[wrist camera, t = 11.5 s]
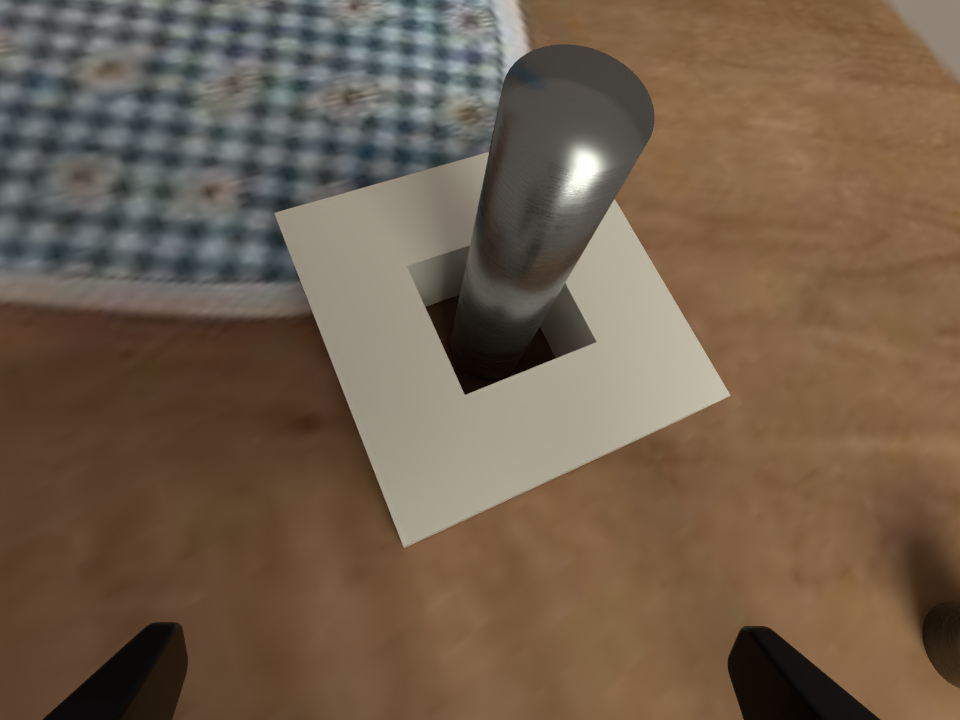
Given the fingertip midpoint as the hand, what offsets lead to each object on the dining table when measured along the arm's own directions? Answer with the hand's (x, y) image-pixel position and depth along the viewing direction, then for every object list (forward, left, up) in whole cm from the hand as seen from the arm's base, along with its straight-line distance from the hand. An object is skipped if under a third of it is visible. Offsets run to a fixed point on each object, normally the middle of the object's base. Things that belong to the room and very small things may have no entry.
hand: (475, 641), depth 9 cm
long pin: (+8, -5, -11) cm, 15 cm away
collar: (+8, -5, -11) cm, 15 cm away
